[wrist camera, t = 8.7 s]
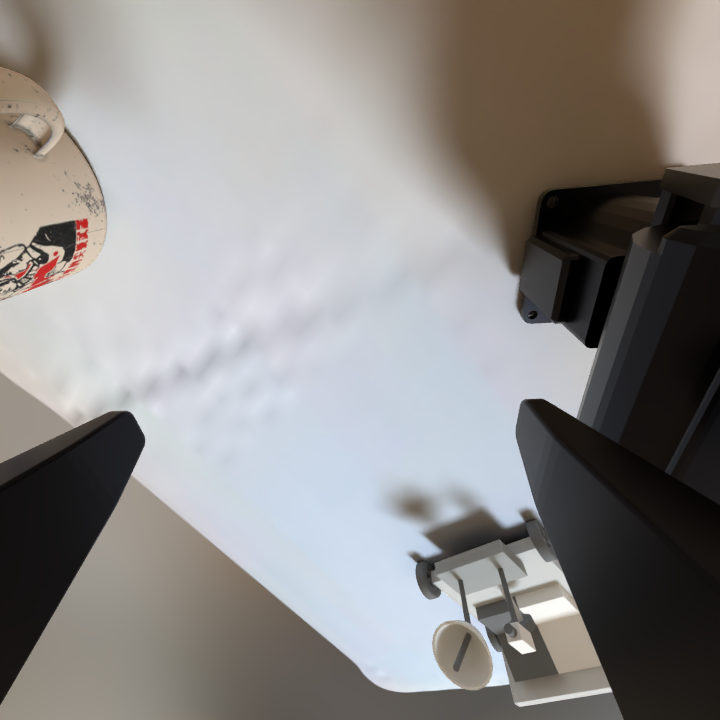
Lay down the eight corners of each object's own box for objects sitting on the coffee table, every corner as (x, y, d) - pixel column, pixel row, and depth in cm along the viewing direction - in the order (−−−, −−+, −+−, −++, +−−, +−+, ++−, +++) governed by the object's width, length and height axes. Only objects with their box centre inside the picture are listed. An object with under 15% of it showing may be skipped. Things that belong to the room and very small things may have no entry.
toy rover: (401, 685, 23) (575, 648, 18) (396, 542, 31) (515, 493, 27) (527, 757, 29) (678, 742, 25) (495, 622, 37) (603, 593, 33)
